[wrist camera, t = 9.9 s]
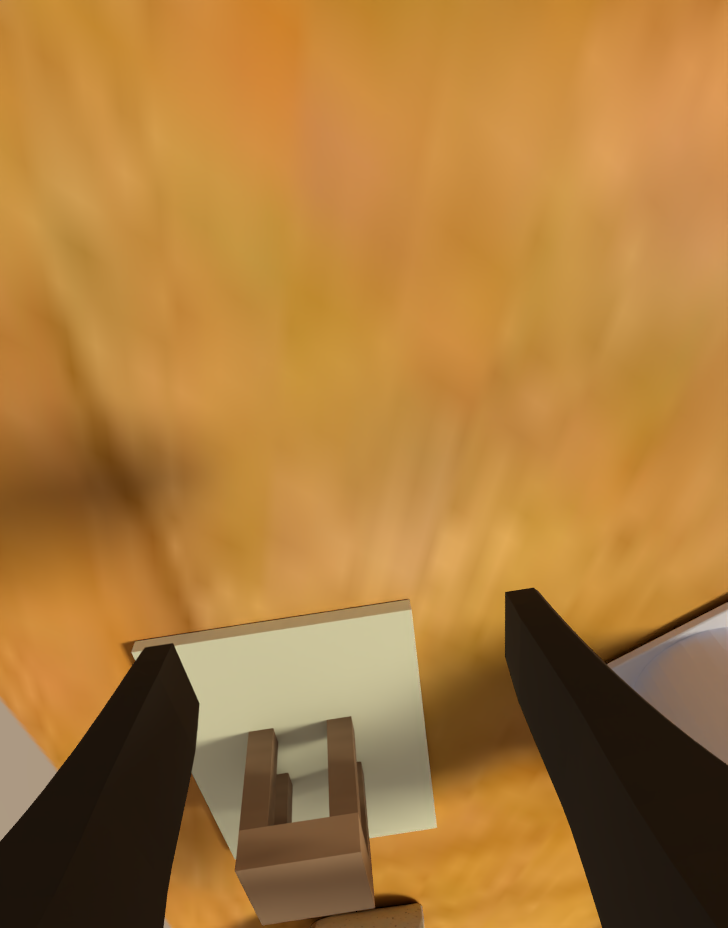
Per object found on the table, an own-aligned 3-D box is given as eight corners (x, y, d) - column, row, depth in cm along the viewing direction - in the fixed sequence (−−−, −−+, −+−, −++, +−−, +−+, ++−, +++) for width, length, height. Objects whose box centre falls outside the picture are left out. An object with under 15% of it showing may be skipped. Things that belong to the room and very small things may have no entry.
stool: (363, 774, 30) (375, 907, 25) (270, 788, 30) (262, 925, 25) (351, 716, 28) (360, 851, 22) (248, 731, 28) (234, 871, 22)
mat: (434, 817, 34) (436, 827, 34) (235, 847, 34) (234, 859, 34) (409, 599, 25) (411, 609, 24) (135, 641, 25) (131, 652, 24)
